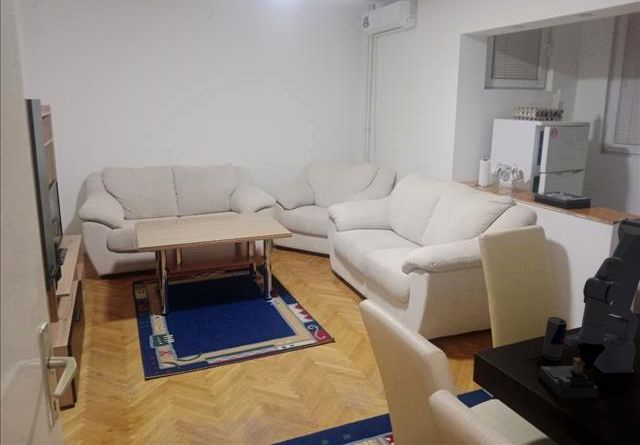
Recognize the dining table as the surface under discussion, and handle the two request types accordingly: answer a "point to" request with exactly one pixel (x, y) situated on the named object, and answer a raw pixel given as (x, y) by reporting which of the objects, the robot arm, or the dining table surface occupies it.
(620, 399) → the dining table surface
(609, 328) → the robot arm
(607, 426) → the dining table surface
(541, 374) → the breaker box
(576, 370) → the breaker toggle
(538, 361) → the dining table surface
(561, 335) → the energy drink
